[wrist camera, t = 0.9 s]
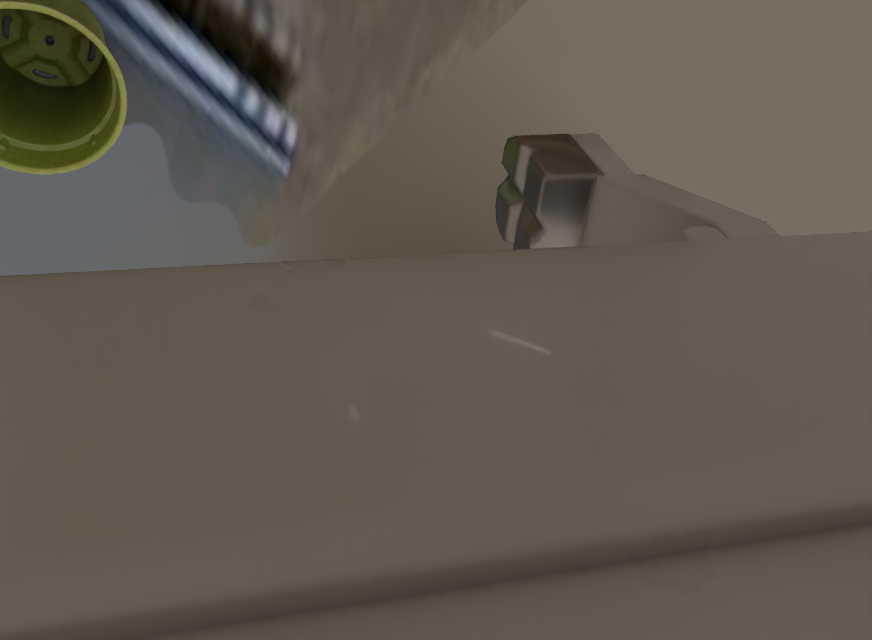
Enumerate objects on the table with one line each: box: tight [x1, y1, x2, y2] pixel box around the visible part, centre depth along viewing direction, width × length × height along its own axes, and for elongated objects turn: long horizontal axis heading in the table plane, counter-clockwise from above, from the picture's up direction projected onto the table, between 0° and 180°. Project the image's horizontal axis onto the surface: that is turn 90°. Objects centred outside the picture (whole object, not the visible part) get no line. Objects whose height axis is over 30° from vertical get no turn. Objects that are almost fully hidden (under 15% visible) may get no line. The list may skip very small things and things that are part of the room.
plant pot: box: [0, 0, 127, 174], centre depth 45 cm, size 9×9×9 cm
